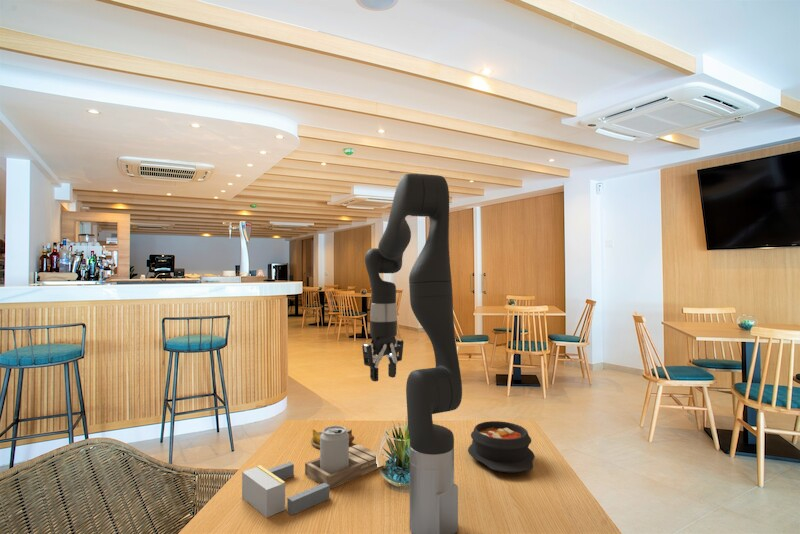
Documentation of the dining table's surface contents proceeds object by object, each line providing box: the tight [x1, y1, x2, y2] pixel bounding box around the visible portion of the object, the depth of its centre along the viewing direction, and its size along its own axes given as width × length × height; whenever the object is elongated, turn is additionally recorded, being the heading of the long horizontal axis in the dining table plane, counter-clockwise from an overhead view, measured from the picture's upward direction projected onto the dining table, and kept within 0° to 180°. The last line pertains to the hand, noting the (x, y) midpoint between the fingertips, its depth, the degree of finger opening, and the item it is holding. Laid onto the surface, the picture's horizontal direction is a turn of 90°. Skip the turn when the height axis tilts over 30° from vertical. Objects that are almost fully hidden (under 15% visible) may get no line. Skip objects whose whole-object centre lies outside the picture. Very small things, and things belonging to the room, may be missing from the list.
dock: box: [241, 461, 331, 519], centre depth 103 cm, size 18×14×6 cm
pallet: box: [304, 443, 379, 490], centre depth 116 cm, size 11×18×3 cm, turn 135°
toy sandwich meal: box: [310, 428, 355, 449], centre depth 135 cm, size 12×14×5 cm
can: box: [319, 425, 350, 474], centre depth 114 cm, size 8×8×12 cm
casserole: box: [467, 420, 535, 474], centre depth 124 cm, size 25×19×8 cm
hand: (383, 378), depth 121 cm, fingers open, 6 cm apart
